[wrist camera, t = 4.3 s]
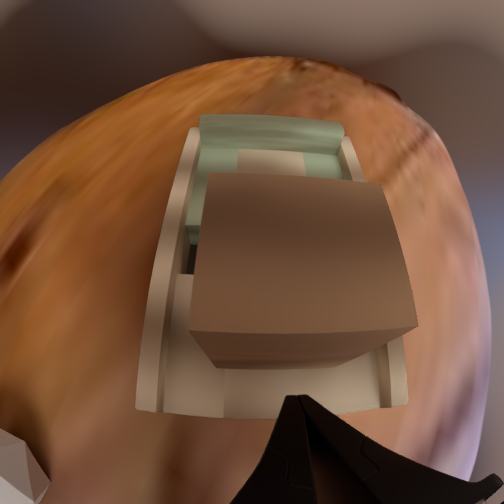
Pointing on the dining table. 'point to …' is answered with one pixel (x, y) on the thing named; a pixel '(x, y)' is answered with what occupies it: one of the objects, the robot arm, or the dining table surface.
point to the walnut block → (296, 272)
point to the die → (19, 473)
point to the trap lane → (182, 273)
